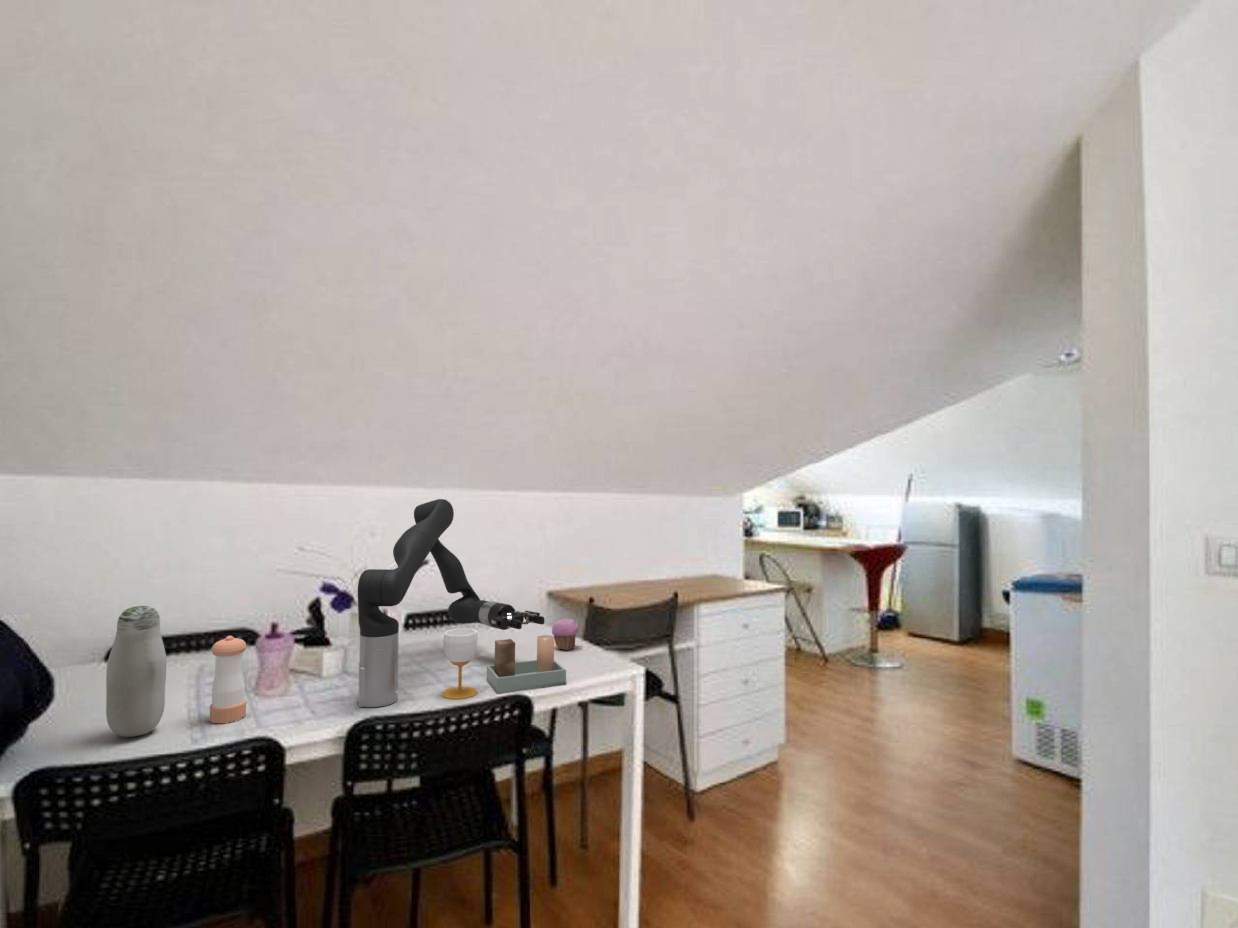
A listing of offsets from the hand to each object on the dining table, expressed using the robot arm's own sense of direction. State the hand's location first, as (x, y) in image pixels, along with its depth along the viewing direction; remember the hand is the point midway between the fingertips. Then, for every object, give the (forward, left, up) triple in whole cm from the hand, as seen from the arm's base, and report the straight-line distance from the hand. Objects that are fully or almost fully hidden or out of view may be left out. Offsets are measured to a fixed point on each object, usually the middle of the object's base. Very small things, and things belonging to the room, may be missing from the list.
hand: (532, 623), depth 183 cm
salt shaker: (-75, -3, -15) cm, 76 cm away
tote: (-3, -5, -15) cm, 16 cm away
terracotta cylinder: (+2, -5, -14) cm, 15 cm away
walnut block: (-9, -5, -14) cm, 18 cm away
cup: (-22, -7, -15) cm, 27 cm away
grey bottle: (-92, -6, -15) cm, 93 cm away
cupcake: (+18, +23, -15) cm, 33 cm away
